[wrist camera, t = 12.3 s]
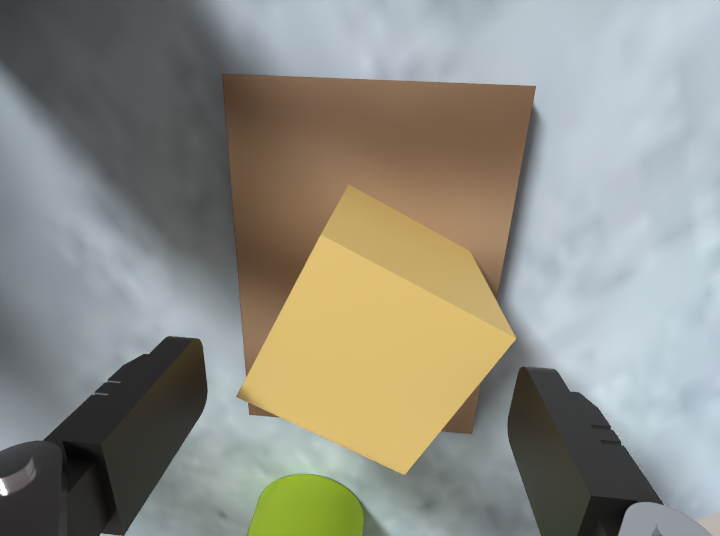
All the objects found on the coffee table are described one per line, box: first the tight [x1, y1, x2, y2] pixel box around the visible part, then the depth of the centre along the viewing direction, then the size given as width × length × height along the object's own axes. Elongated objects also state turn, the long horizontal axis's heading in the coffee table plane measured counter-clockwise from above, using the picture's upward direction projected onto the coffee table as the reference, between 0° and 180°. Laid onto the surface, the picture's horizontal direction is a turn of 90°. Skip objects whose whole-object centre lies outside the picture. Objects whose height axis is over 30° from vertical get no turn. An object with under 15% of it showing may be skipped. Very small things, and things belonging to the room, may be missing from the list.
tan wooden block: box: [236, 185, 516, 475], centre depth 13 cm, size 5×5×6 cm
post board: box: [222, 74, 536, 434], centre depth 14 cm, size 14×10×6 cm
